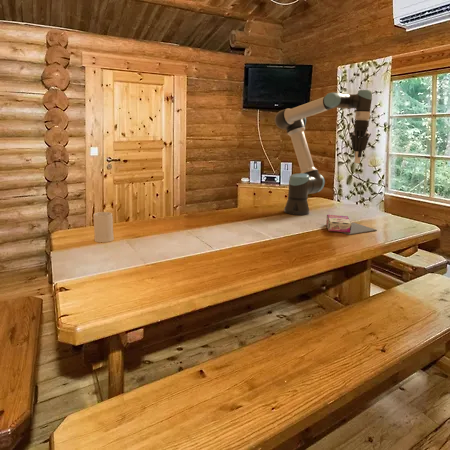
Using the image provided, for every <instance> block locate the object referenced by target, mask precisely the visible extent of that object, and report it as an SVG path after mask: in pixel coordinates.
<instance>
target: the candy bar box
mask: <svg viewBox="0 0 450 450" xmlns="http://www.w3.org/2000/svg"><path fill="white" fill-rule="evenodd" d="M351 223H352V222H351V221H350V218H349V216H348V215H345V216H344V215H336V214H334V215H333V214H327V215H326V222H325V224H326V228H327V227H328V228H327V230H328V232H338V231H339V232H338V233H341V232H350V231H351V225H352V224H351Z"/></svg>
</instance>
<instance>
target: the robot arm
mask: <svg viewBox="0 0 450 450" xmlns="http://www.w3.org/2000/svg"><path fill="white" fill-rule="evenodd" d="M372 100H373V91H372V90H370V89H359V90H358V91H357V93H356V94H353V93H352V94H350V93H340V92H328V93H327V94H326V95H325V96H323V97H320V98H317V99H315V100H312V101H309V102H307V103H304V104H301V105H298V106H295V107H292V108H285V109H281V110H279V111H278V112H277V113H276V114H275V117H274V123H275V126H276V127H277V128H278V129H280V130H283V131H284V130H285V131H286V134H287V135H288V136H289V137H290V139H291V143H292V146H293V150H294V153H295V155H296V159H297V163H298V166H299V169H300V172H299V173H293V174H291V175H289V178H288V179H289V180H288V192H287V193H288V194H287V201H286V203H285V205H284V209H283V212H284V214H289V215H295V216H305V215H309V214H310V208H309V203H308V195H310V194H316V193H319V192H321V191H322V190H323V189H324V187H325V183H326V180H325V178H324V176H323V175H322V174H321V173H319V169H317V168H316V167H315V165H314V161H313V158H312V155H311V151H310V148H309V145H308V142H307V138H306V135H305V131H306V124H307V118H309V117H312V116H315V115H318V114H320V113H323V112H327V111H330V110H333V109H344V110H345V109H355V116H354V119H355V120H354V122H353V123H354V125H353V127H354V129H353V131H351V132H349V133H350V137H351V149H352V150H353V151H354V155H353V157H354V164H360V163H361V158H362V156H363V151H366V149H367V145H368V142H369V140H370V137H371V135H372V133H370V132H369V131H368V127H369V125H370V119H371V117H370V116H371V108H372Z"/></svg>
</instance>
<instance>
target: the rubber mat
mask: <svg viewBox="0 0 450 450" xmlns="http://www.w3.org/2000/svg"><path fill="white" fill-rule="evenodd" d="M351 224H352V225H351V231H350V232H339V231H337V232H338V233H342V234H345V235H347V236H352V235H358V234H365V233H372V232H377V231H378V230H377V229H375V228H373V227H369V226H366V225H363V224H360V223H356V222H351ZM326 228H327V229H328V227H327V226H326Z"/></svg>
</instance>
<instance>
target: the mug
mask: <svg viewBox="0 0 450 450" xmlns="http://www.w3.org/2000/svg"><path fill="white" fill-rule="evenodd" d="M113 218H114V217H113V213H112V212H109V211H98V212H94V213H93V228H94V229H93V232H94V240H93V241H95V242H96V243H101V242H102V243H103V244H104V243H111V242H113V241H114V240H115V237H114V220H113Z"/></svg>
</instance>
